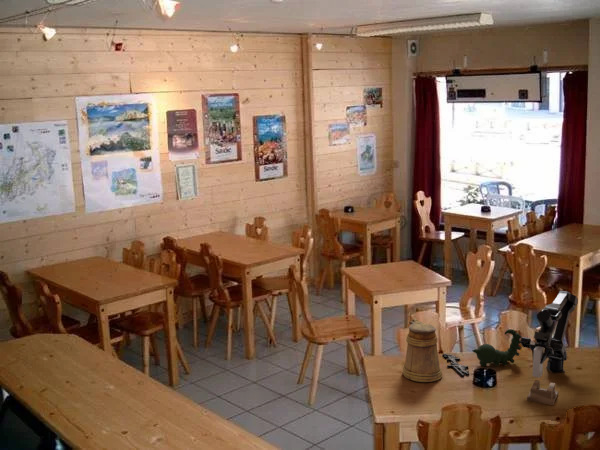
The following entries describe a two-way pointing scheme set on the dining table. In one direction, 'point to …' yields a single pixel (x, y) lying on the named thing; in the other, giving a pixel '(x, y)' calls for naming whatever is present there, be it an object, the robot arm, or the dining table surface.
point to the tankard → (422, 353)
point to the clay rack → (542, 393)
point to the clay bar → (537, 362)
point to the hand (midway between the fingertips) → (537, 362)
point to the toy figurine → (498, 352)
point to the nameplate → (456, 365)
